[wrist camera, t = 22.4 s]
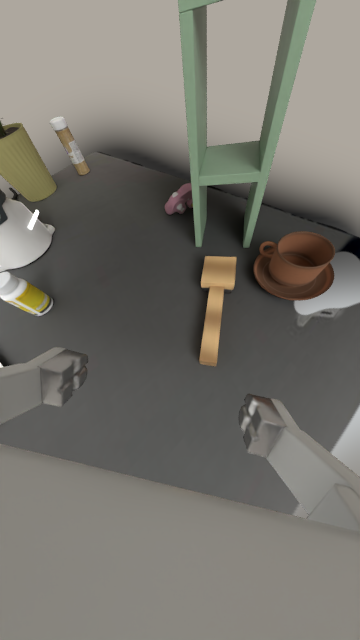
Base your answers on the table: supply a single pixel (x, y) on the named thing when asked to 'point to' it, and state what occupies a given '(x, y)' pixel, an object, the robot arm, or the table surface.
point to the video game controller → (180, 200)
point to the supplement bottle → (24, 295)
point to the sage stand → (257, 156)
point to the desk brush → (215, 302)
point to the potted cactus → (23, 164)
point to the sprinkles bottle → (69, 144)
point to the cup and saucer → (296, 266)
